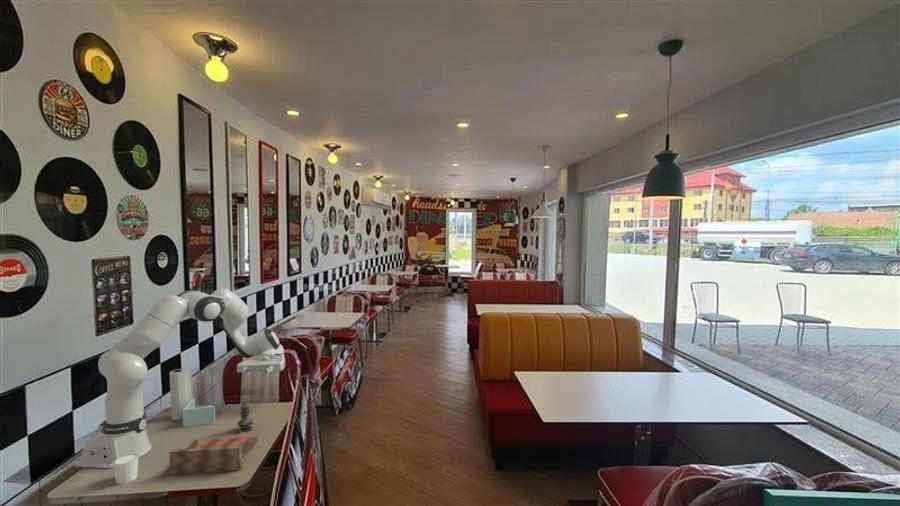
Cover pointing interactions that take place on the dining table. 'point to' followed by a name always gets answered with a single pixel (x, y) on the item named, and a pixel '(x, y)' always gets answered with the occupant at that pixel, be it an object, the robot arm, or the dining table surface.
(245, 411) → the stone chess piece
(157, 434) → the dining table surface
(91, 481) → the dining table surface
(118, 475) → the white tapered cup
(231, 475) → the dining table surface
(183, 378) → the paper towel roll
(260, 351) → the robot arm
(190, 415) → the l-shaped corner panel
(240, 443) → the tray
